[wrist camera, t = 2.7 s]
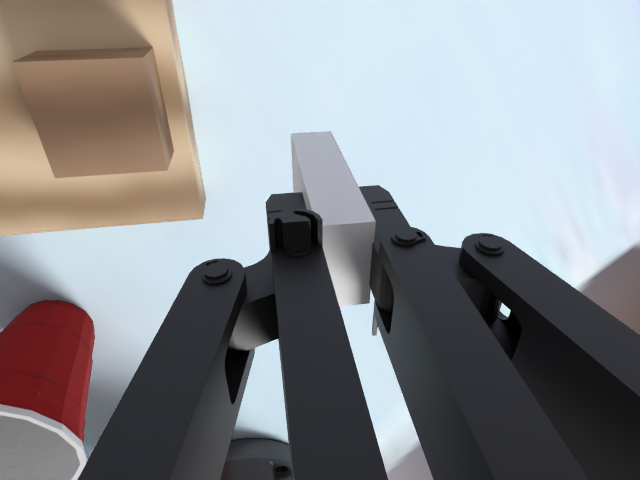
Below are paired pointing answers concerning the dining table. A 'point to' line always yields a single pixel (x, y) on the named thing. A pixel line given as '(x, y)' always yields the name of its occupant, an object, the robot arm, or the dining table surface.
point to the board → (101, 190)
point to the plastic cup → (44, 392)
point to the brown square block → (97, 110)
